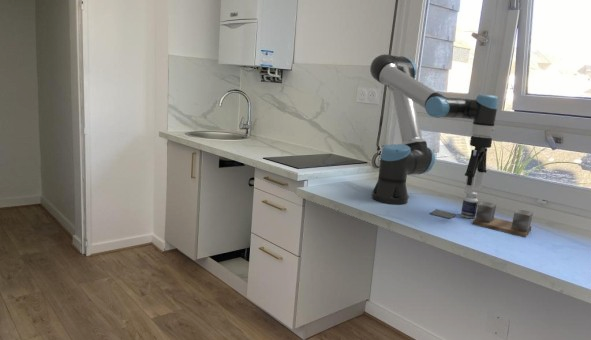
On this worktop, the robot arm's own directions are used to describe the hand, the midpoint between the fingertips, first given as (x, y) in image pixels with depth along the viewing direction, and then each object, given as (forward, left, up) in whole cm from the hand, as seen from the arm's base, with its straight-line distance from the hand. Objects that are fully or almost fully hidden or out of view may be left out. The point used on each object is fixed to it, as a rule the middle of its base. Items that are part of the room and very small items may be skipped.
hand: (473, 190), depth 169 cm
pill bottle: (0, 0, -11) cm, 11 cm away
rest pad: (-8, -6, -11) cm, 15 cm away
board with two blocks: (+13, -3, -11) cm, 17 cm away
